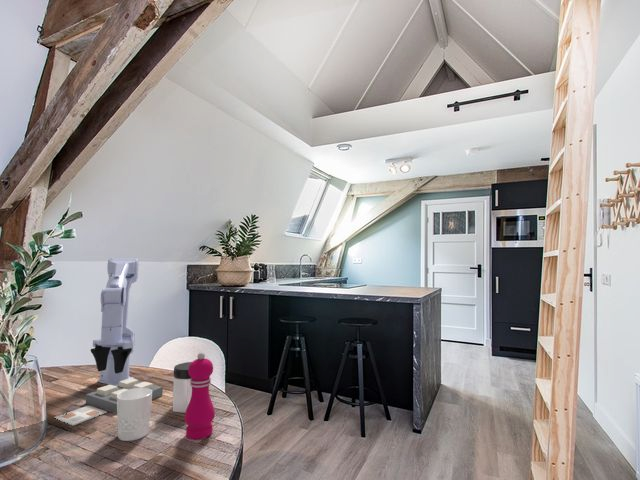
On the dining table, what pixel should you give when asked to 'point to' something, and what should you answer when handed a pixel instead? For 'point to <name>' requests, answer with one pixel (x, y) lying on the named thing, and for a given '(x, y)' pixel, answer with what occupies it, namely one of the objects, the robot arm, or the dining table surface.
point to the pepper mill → (200, 400)
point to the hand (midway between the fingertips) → (110, 371)
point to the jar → (181, 387)
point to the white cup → (133, 413)
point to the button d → (143, 385)
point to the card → (80, 415)
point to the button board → (110, 403)
